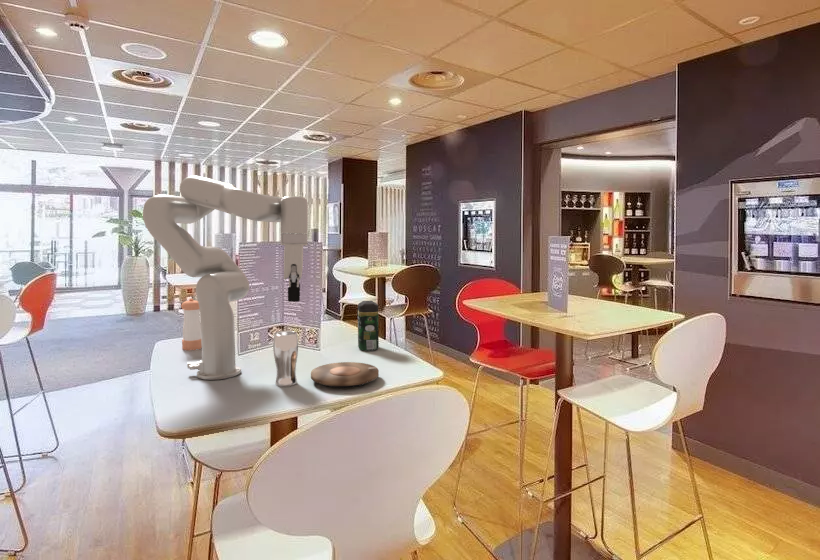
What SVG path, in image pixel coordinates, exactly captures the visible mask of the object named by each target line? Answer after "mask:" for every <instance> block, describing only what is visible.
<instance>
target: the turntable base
mask: <svg viewBox="0 0 820 560" xmlns="http://www.w3.org/2000/svg"><path fill="white" fill-rule="evenodd" d="M366 384H367V383H364V384H359V385H352V386H330V385H324V384H322V385H324V386H326V387H329V388H335V389H350V388H357V387H361V386H364V385H366Z"/></svg>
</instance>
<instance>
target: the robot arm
mask: <svg viewBox="0 0 820 560" xmlns="http://www.w3.org/2000/svg"><path fill="white" fill-rule="evenodd" d="M179 192H180V195H181V196H179V195H177V196H176V195H170V194H156V195H153V196H150V197H149V198H148V199H147V200H146V201H145V202H144V204H143V207H142V208H143V209H142V219H143V223H144V225H145V227H146V229H147V231H148V232H149V234H150V235H151V236H152V238H154V240H155V241H157V243H159V245H160V246H161V247H162V248H163V249H164V250H165V252H167V254H168V255H169V257H171V259H172V260H173V261H174V262H175V264H176V265H177V266H178V267H179V269H181V271H182V273H184V274H185V275H186V276H188V277H190V278H199V279H198V281H197V282H196V286H195V293H196V300H197V301H198V303H199V308H200V309H199V310H200V323H201V344H202V349H201V360H199V361H187V365H186V367H187V369H189V370H190V371H191V370H192V371H193V370H198V371H197V372H196V377H197V378H199V379H201V380H206V381H207V380H208V381H210V380H211V381H215V380H224V379H225V380H226V379H229V378H233V377H236V376H238V375H239V374H241V372H242V367H240V366H238V365H236V333H235V331H236V329H235V328H236V327H235V314H234V311H233V308H232V306H231V304H230V302H233V301H237V300H241V299H242V298H243V299H244V297H246V296H247V294H248V293H249V290H250V282H249V279H248V277H247V276H246V274H245V273H244V272H243V270H242V269H241V267H239V266H238V264H236V262H235V261H234V260H233V258H232V257H231V256H230V255H229V254H228V253H227V252H226V251H225V250H223V249H221V248H220V247H217V246H203V245H200V243H198V242H197V241H196V240H195V239H194V238H193V237H192V235H191V234H190V233H189V232H188V231H187V230H186V229H184V227H181V226H180V225H179V224H183V225H184V224H194V223H197V222H198V221H200V220H202V219H203V218H204V217H206V216H207V215H209V214H210V213H212V212H213V211H215V210H216V211H220V212H223V213H225V214H229V215H232V216H235V217H239V218H243V219H247V220H249V221H255V222H267V223H280V246H284V247H283V248H284V249H283V279H284V280H285V281H286V280H287V279H288V287H287V301H288V302H289V303H291V302H293V303H294V302H295V303H298V302H300V300H301V299H300V298H301V283H300V280H301V279H302V278H303V267H304V246H308V226H309V225H308V224H309V222H308V220H309V219H308V218H309V217H308V215H309V213H308V211H309V210H308V209H309V208H308V205H309V204H308V200H307V199H306V197H302V196H293V195H289V196H288V195H287V196H284V197H278V196H274V195H269V194H263V193H257V192H253V191H248V190H243V189H240V188H237V187H236V185H234V184H233V183H228V182H224V181H220V180H218V179H215V178H209V177H204V176H200V175H190V176H186V177H185V178H183V179H182V180H181V183H180V185H179Z"/></svg>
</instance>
